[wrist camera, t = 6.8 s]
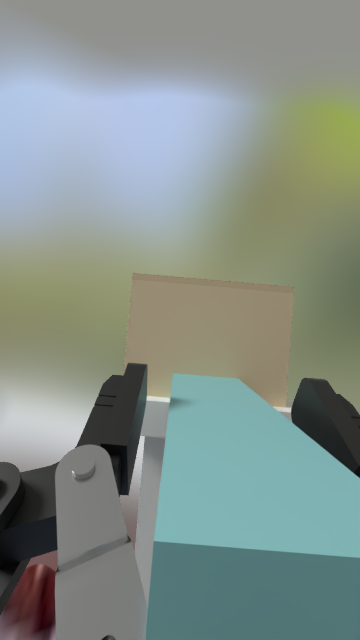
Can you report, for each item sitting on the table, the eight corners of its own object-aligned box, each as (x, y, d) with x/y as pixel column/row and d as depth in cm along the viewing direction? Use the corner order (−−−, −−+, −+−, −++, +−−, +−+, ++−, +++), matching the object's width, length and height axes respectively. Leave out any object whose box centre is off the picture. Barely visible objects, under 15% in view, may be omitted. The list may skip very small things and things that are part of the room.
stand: (282, 1047, 14) (323, 417, 15) (28, 1029, 14) (88, 398, 15) (231, 699, 27) (255, 376, 28) (101, 689, 27) (130, 365, 28)
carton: (699, 708, 3) (709, 135, 4) (-98, 644, 3) (-31, 70, 4) (244, 377, 26) (250, 302, 27) (143, 369, 26) (149, 294, 27)
